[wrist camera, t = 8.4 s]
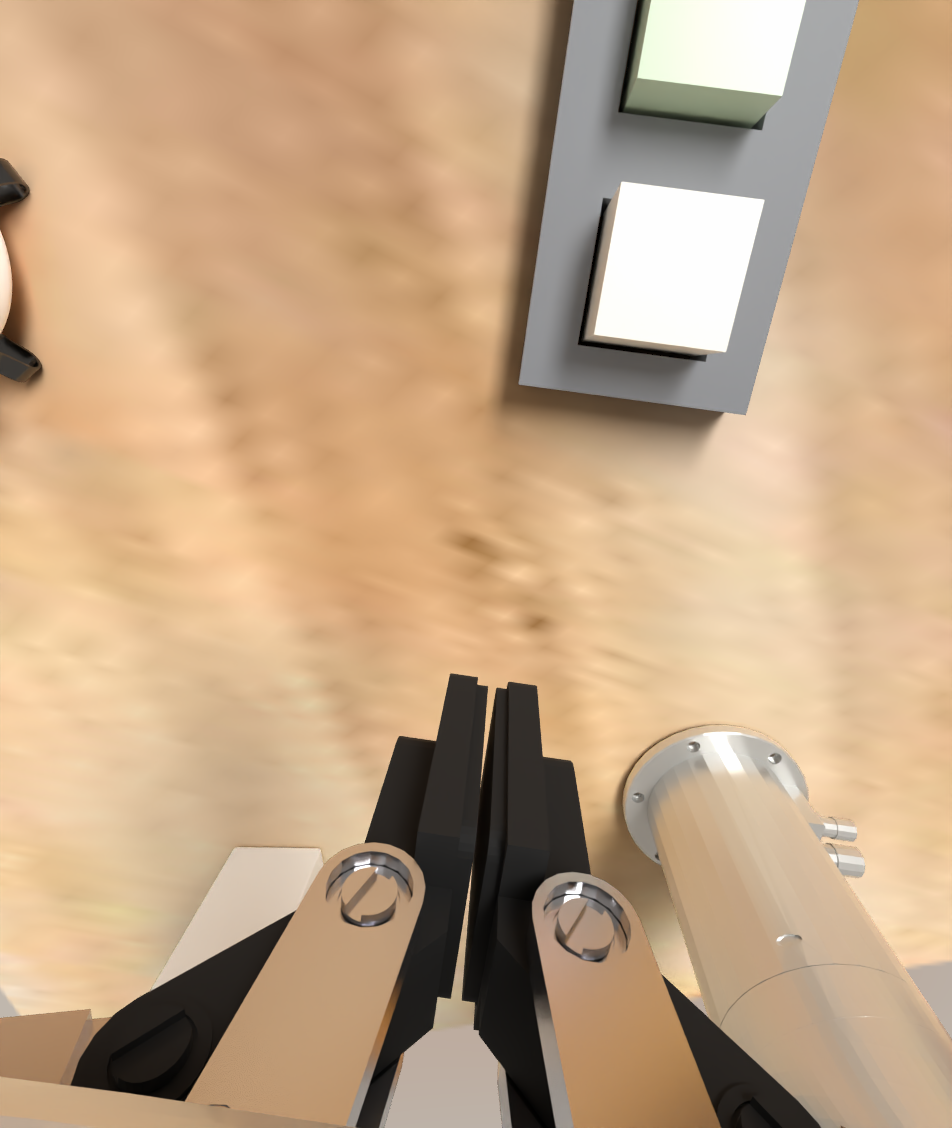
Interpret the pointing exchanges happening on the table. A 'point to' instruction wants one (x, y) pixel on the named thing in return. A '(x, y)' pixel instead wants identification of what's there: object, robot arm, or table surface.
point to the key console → (675, 160)
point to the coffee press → (3, 353)
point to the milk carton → (244, 902)
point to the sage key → (710, 59)
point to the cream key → (670, 269)
